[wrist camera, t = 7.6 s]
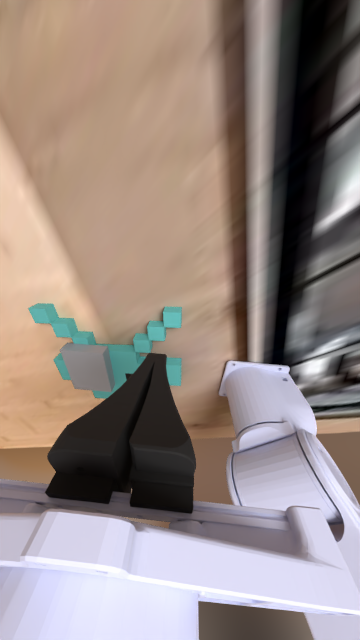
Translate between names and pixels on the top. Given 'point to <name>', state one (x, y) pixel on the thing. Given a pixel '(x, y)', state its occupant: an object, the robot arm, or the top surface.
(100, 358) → the tile
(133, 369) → the alien figure
